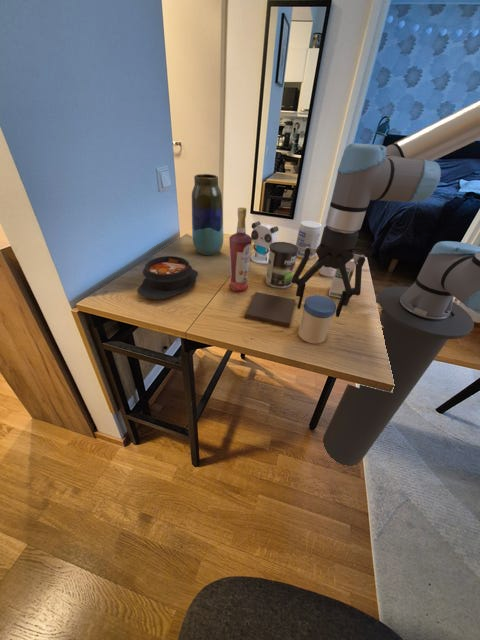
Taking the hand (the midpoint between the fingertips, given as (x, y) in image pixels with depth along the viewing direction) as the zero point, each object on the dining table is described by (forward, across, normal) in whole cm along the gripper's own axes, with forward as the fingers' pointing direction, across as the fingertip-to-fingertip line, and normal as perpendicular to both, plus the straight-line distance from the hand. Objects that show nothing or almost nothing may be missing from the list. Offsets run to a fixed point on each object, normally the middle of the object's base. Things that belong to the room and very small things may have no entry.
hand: (317, 310), depth 71 cm
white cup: (+9, -3, -43) cm, 44 cm away
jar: (+9, 0, 0) cm, 9 cm away
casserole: (+9, +52, -10) cm, 54 cm away
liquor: (+9, +28, -17) cm, 34 cm away
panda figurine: (+9, +26, -47) cm, 54 cm away
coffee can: (+9, +15, -28) cm, 33 cm away
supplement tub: (+9, +8, -58) cm, 59 cm away
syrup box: (+9, -7, -27) cm, 29 cm away
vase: (+9, +51, -44) cm, 68 cm away
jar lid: (-2, 0, 0) cm, 2 cm away
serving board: (+9, +14, -8) cm, 18 cm away
